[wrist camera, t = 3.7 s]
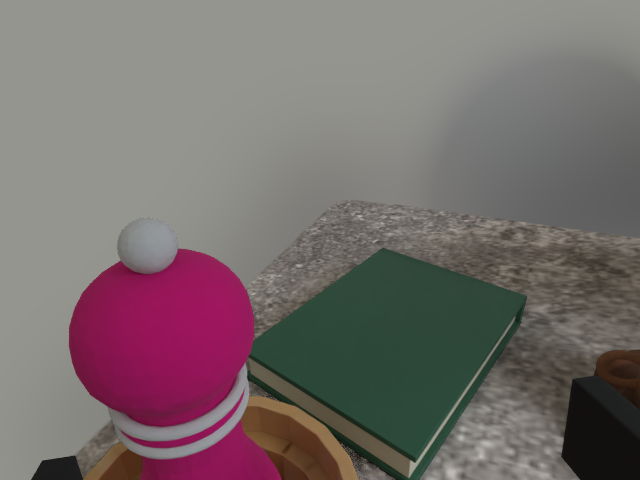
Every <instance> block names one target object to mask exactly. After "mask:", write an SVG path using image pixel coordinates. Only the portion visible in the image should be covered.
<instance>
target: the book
mask: <svg viewBox="0 0 640 480" xmlns="http://www.w3.org/2000/svg"><path fill="white" fill-rule="evenodd" d="M526 298H527V296H526V295H523V294H520V293H517V292H514V291H511V290H508V289H505V288H502V287H499V286H496V285H493V284H490V283H487V282H484V281H481V280H478V279H475V278H472V277H469V276H466V275H463V274H460V273H457V272H454V271H451V270H448V269H445V268H442V267H439V266H436V265H433V264H430V263H427V262H424V261H421V260H418V259H415V258H412V257H409V256H406V255H403V254H400V253H397V252H394V251H391V250H388V249H385V248H382V249H380V250H379V251H378V252H376V253H375V254H373V255H372V256H371V257H369V258H368V259H366V260H365V261H364V262H362V263H361V264H360V265H358V266H357V267H355V268H354V269H353V270H351V271H350V272H348V273H347V274H346V275H344V276H343V277H341V278H340V279H339V280H337V281H336V282H335V283H333V284H332V285H330V286H329V287H328V288H326V289H325V290H323V291H322V292H321V293H319V294H318V295H316V296H315V297H314V298H312V299H311V300H310V301H308V302H307V303H305V304H304V305H303V306H301V307H300V308H298V309H297V310H296V311H294V312H293V313H291V314H290V315H289V316H287V317H286V318H285V319H283V320H282V321H280V322H279V323H278V324H276V325H275V326H273V327H272V328H271V329H269V330H268V331H266V332H265V333H264V334H262V335H261V336H260V337H258V338H257V339H255V340H254V341H253V344H252V348H251V352H250V354H249V356H248V358H249V365H250V370H249V371H248V372H247V378H248V379H249V380H251V381H252V382H254V383H255V384H257V385H258V386H260V387H261V388H262V389H264V390H265V391H267V392H268V393H270V394H271V395H273V396H274V397H276V398H277V399H279V400H280V401H282V402H283V403H286V404H290V405H293V406H296V407H298V408H299V409H301V410H302V411H304V412H305V413H307V414H308V415H310V416H311V417H313V418H314V419H316V420H317V421H319V422H320V423H322V424H323V425H325V426H326V427H327V428H328V429H329V431H330V432H331V433H332V435H333V436H334V437H335V438H336V439H338V440H339V441H341V442H342V443H344V444H345V445H347V446H348V447H350V448H351V449H353V450H354V451H356V452H357V453H358V454H360V455H361V456H363V457H364V458H366V459H367V460H369V461H370V462H372V463H373V464H375V465H376V466H378V467H379V468H381V469H382V470H384V471H385V472H387V473H388V474H389V475H391V476H392V477H394V478H395V479H397V480H419V479H420V478H421V476H422V474H423V473H424V471H425V470H426V468H427V467H428V465H429V464H430V462H431V461H432V459H433V457H434V456H435V454H436V453H437V451H438V450H439V448H440V447H441V445H442V444H443V442H444V440H445V439H446V437H447V436H448V434H449V433H450V431H451V430H452V428H453V427H454V425H455V424H456V422H457V420H458V419H459V417H460V416H461V414H462V413H463V411H464V410H465V408H466V407H467V405H468V403H469V402H470V400H471V399H472V397H473V396H474V394H475V393H476V391H477V390H478V388H479V386H480V385H481V383H482V382H483V380H484V379H485V377H486V376H487V374H488V373H489V371H490V370H491V368H492V366H493V365H494V363H495V362H496V360H497V359H498V357H499V356H500V354H501V353H502V351H503V349H504V348H505V346H506V345H507V343H508V342H509V340H510V339H511V337H512V336H513V334H514V332H515V331H516V329H517V328H518V326H519V325H520V323H521V320H522V316H523V311H524V307H525V303H526Z"/></svg>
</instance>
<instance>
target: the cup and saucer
mask: <svg viewBox="0 0 640 480" xmlns="http://www.w3.org/2000/svg"><path fill="white" fill-rule="evenodd" d="M597 375H598V376H600V377H601V378H602V379H603V380H604V381H606V382H607V383H608V384H609V385H610V386H612V387H613V388H614V389H615V390H616V391H618V392H619V393H620V394H621V395H622V396H624V397H625V398H626V399H627V400H628V401H630V402H631V403H632V404H633V405H635V406H636V407H637V408H638V409H639V410H640V350H630V351H625V350H613V351H609V352H606V353H604V354H602V355H601V356H600V357H599V358H598V359H597V361H596V370H595V372H594V376H597Z"/></svg>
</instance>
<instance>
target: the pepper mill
mask: <svg viewBox="0 0 640 480" xmlns="http://www.w3.org/2000/svg"><path fill="white" fill-rule="evenodd" d="M117 249H118V255H119V257H120V259H121V261H119V262H118V263H116V264H115V265H113V266H111V267H110V268H108V269H107V270H105V271H104V272H102V273H101V274H100V275H99V276H98V277H97V278H96V279H95V280H94V281H93V282H92V283H91V284H90V285H89V286H88V287H87V288H86V290H85V291H84V292H83V293H82V295H81V297H80V299H79V301H78V303H77V305H76V307H75V309H74V312H73V316H72V319H71V323H70V327H69V348H70V353H71V358H72V363H73V366H74V369H75V372H76V374H77V376H78V377H79V379H80V381H81V382H82V384H83V385H84V386H85V388H86V389H87V391H88V392H89V394H90V395H91V396H93V397H94V398H96V399H97V400H99V401H100V402H102V403H103V404H105V405H106V406H108V410H109V414H110V416H111V419H112V420H113V422H114V427H115V431H116V434H117V436H118V438H119V439H120V441H121V442H122V443H123V445H125V446H126V447H127V448H128V449H129V450H130V451H132V452H134V453H136V454H138V455H141V456H142V459H143V470H142V474H141V477H140V480H282V479H281V477H280V474H279V472H278V470H277V468H276V467H275V465H274V464H273V462H272V461H271V459H270V458H269V457H268V455H267V454H266V452H265V451H264V450H263V449H262V448H261V447H260V446H258V445H257V444H256V443H255V442H254V441H253V440H252V439H251V438H249V437H248V436H247V435H246V434H245V433H244V431H243V427H242V423H241V417H242V416H243V414H244V411H245V409H246V407H247V404H248V401H249V383H248V379H247V368H246V363H245V362H246V360H247V358H248V356H249V354H250V352H251V348H252V344H253V339H254V315H253V310H252V306H251V303H250V300H249V297H248V294H247V291H246V289H245V287H244V286H243V284H242V283H241V281H240V279H239V278H238V277H237V276H236V275H235V274H234V273H233V272H232V271H231V270H230V269H229V268H228V267H227V266H226V265H224V264H223V263H221V262H220V261H218V260H217V259H215V258H214V257H211V256H209V255H206V254H203V253H200V252H196V251H192V250H187V249H178V243H177V238H176V235H175V233H174V231H173V230H172V229H171V228H170V227H169V226H168V225H167V224H166V223H164V222H163V221H160V220H158V219H153V218H142V219H138V220H135V221H133V222H131V223H129V224H128V225H127V226H126V227H125V228H124V229H123V230H122V231H121V233H120V235H119V239H118V243H117Z"/></svg>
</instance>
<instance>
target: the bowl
mask: <svg viewBox="0 0 640 480" xmlns="http://www.w3.org/2000/svg"><path fill="white" fill-rule="evenodd" d="M241 423H242V427H243V431H244V433H245V434H246V435H247V436H248V437H249V438H251V439H252V440H253V441H254V442H255V443H256V444H257V445H258V446H260V447H261V448H262V449H263V450H264V451H265V452H266V454H267V455H268V457H269V458H270V459H271V461H272V462H273V464H274V465H275V467H276V468H277V470H278V472H279V474H280V477H281V479H282V480H358V477H357V474H356V471H355V468H354V466H353V463H352V460H351V458H350V456H349V455H348V454H347V453H346V451H345V450H344V449H343V447H342V446H341V445H340V444H339V442H338V441H337V440H336V438H335V437H334V436H333V435H332V433H331V432H330V431H329V429H328V428H327V427H326V426H325V425H323V424H322V423H320V422H319V421H317V420H316V419H314V418H313V417H311V416H310V415H308V414H307V413H305V412H304V411H302V410H301V409H299V408H298V407H296V406H293V405H290V404H286V403H283V402H280V401H276V400H273V399H270V398H266V397H262V396H249V401H248V404H247V407H246V409H245V411H244V414H243V416H242V417H241ZM142 470H143V459H142V456H141V455H138V454H136V453H134V452H132V451H130V450H129V449H128V448H127V447H126V446H125V445H123V443H122V442H121V441H120V442H119V443H118V444H116V445H115V446H114V447H112V448H111V449H110V450H109V451H108V452H107V453H106V454H105V456H104V457H103V458H102V459H101V460H100V461H99V462H98V463H97V464H96V465H95V467H94V468H93V469H92V470H91V471H90V472H89V473H88V474H87V475H86V476H85V477H84V479H83V480H140V477H141V474H142Z"/></svg>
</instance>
